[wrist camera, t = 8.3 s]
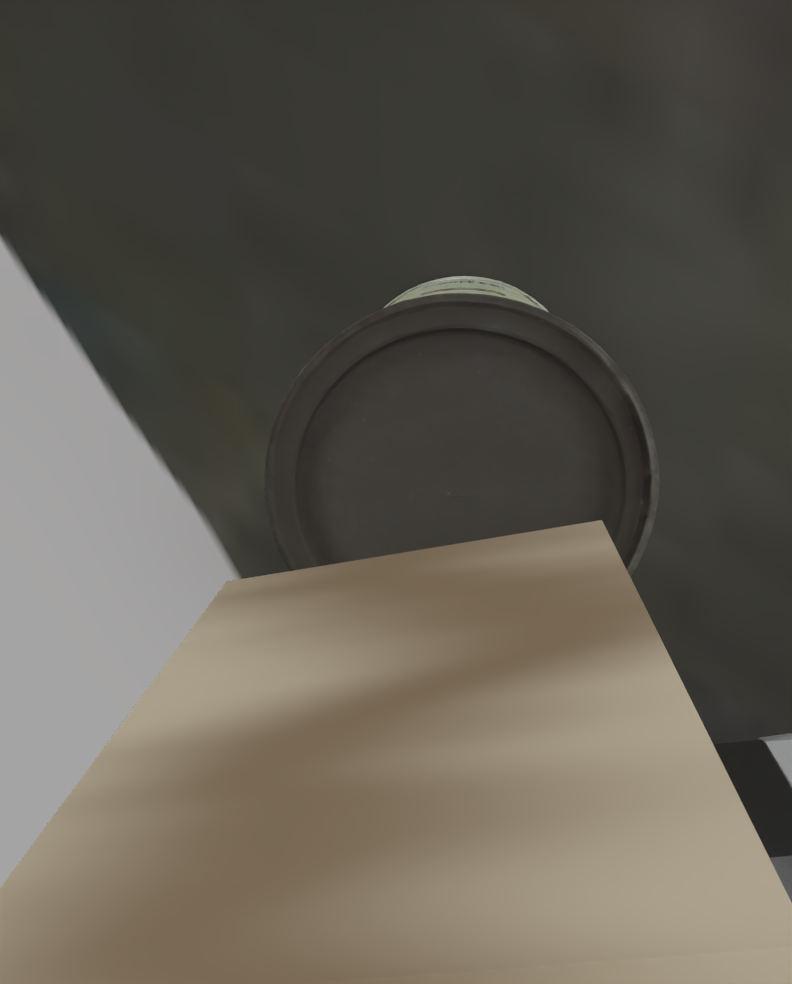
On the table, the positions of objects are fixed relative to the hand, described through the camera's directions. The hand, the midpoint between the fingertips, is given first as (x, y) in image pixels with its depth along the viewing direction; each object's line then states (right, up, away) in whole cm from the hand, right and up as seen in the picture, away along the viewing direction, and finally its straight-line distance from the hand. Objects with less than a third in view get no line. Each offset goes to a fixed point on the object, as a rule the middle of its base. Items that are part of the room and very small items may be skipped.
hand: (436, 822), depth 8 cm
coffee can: (+3, +8, +24) cm, 26 cm away
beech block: (0, +1, +2) cm, 2 cm away
